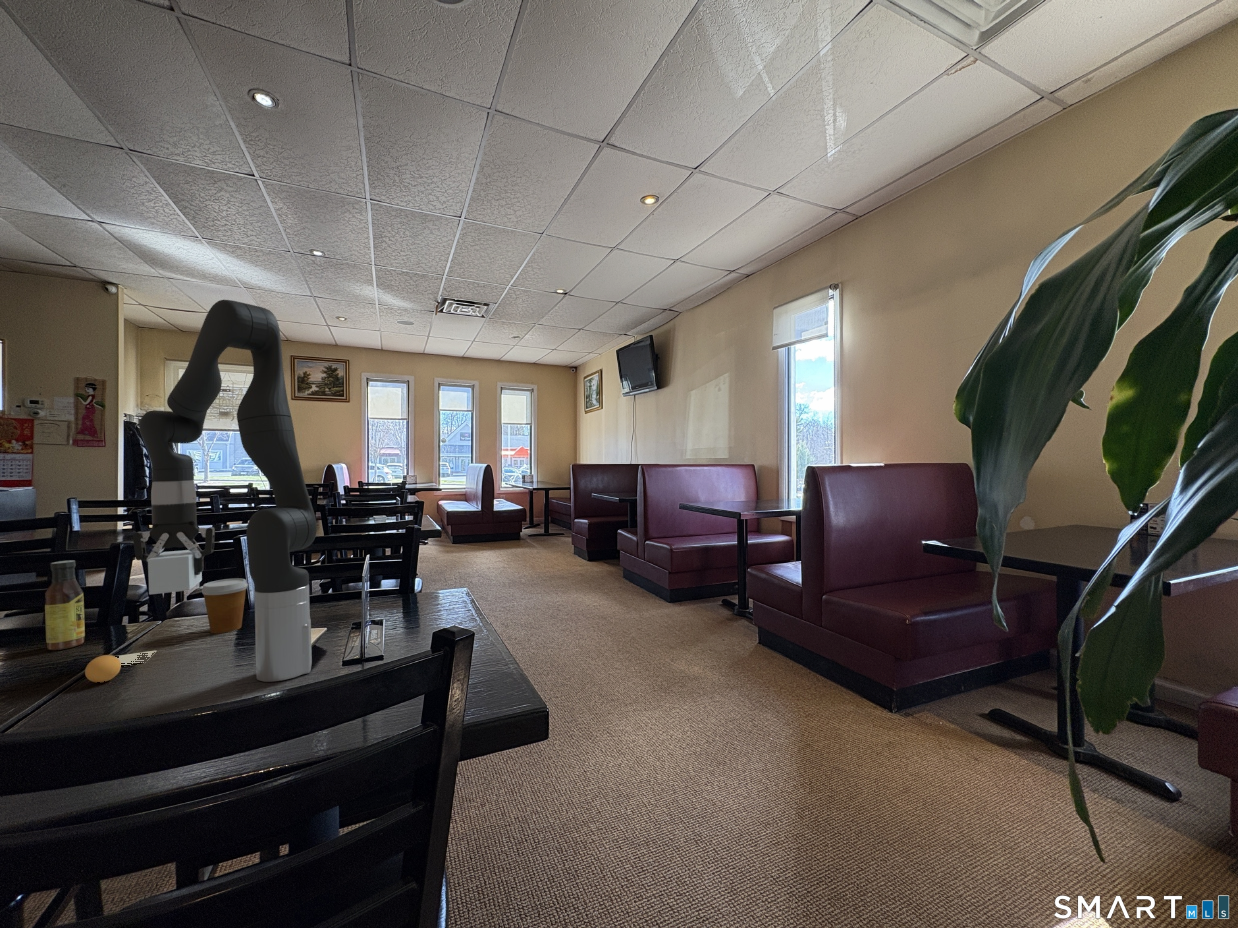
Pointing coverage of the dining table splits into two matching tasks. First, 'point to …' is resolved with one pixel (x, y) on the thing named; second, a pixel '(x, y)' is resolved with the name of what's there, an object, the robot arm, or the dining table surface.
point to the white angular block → (172, 572)
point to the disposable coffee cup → (225, 604)
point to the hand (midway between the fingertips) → (176, 576)
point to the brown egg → (103, 668)
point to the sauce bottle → (64, 608)
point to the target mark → (133, 657)
